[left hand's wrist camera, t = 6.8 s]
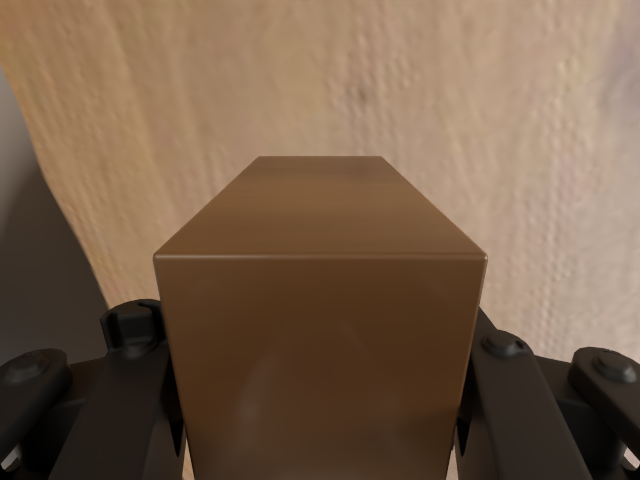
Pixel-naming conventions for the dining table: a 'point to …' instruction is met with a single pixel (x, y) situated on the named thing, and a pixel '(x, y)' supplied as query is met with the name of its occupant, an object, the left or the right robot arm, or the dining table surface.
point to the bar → (320, 324)
